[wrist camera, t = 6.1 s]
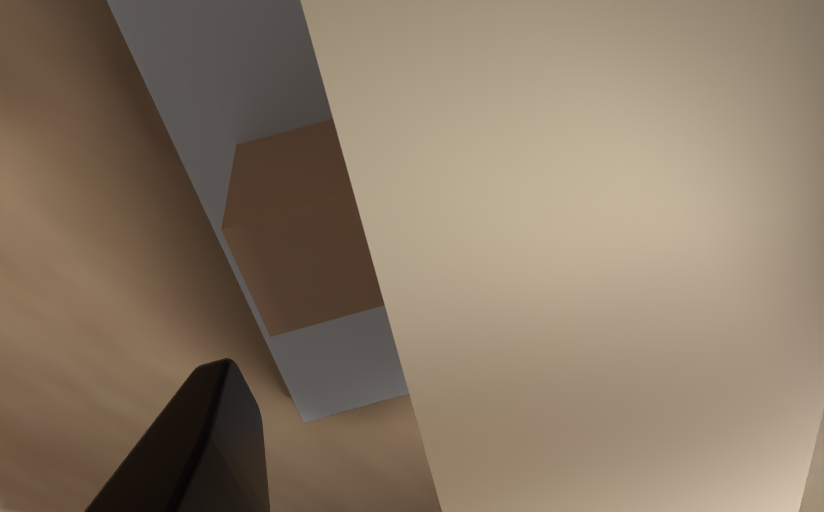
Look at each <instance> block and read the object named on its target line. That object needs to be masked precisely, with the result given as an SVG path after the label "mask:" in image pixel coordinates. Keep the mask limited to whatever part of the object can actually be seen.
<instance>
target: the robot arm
mask: <svg viewBox="0 0 824 512" xmlns="http://www.w3.org/2000/svg"><path fill="white" fill-rule="evenodd" d="M84 512H270V504H269V493H268V481H267V470H266V459H265V448H264V437H263V425H262V418H261V414H260V410H259V407H258V405H257V402H256V400H255V398H254V396H253V395H252V393H251V391H250V389H249V387H248V385H247V383H246V381H245V379H244V377H243V375H242V373H241V371H240V369H239V367H238V366H237V364H236V363H235V362H234V361H233V360H231V359H228V358H225V359H221V360H218V361H214V362H210V363H207V364H203V365H200V366H198V367H197V368H196V369H195V370H194V371H193V372H192V373H191V374H190V376H189V377H188V378H187V380H186V381H185V382H184V383H183V385H182V386H181V387H180V389H179V390H178V391H177V392H176V394H175V395H174V396H173V398H172V399H171V400H170V401H169V403H168V404H167V405H166V407H165V408H164V409H163V410H162V412H161V413H160V414H159V416H158V417H157V418H156V420H155V421H154V422H153V423H152V425H151V426H150V427H149V429H148V430H147V431H146V432H145V434H144V435H143V436H142V438H141V439H140V440H139V441H138V443H137V444H136V445H135V447H134V448H133V449H132V451H131V452H130V453H129V454H128V456H127V457H126V458H125V460H124V461H123V462H122V463H121V465H120V466H119V467H118V469H117V470H116V471H115V472H114V474H113V475H112V476H111V478H110V479H109V480H108V482H107V483H106V484H105V485H104V487H103V488H102V489H101V491H100V492H99V493H98V494H97V496H96V497H95V498H94V500H93V501H92V502H91V503H90V505H89V506H88V507H87V509H86V510H85V511H84Z"/></svg>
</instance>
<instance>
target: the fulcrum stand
mask: <svg viewBox="0 0 824 512" xmlns="http://www.w3.org/2000/svg"><path fill="white" fill-rule="evenodd" d="M107 3H108V5H109V7H110V9H111V11H112V13H113V15H114V18H115V20H116V22H117V24H118V26H119V28H120V30H121V33H122V35H123V37H124V39H125V41H126V43H127V45H128V48H129V50H130V52H131V54H132V56H133V58H134V60H135V63H136V65H137V67H138V69H139V71H140V73H141V75H142V78H143V80H144V82H145V84H146V86H147V88H148V90H149V93H150V95H151V97H152V99H153V101H154V103H155V105H156V108H157V110H158V112H159V114H160V116H161V118H162V120H163V123H164V125H165V127H166V129H167V131H168V133H169V135H170V138H171V140H172V142H173V144H174V146H175V148H176V150H177V153H178V155H179V157H180V159H181V161H182V163H183V165H184V168H185V170H186V172H187V174H188V176H189V178H190V180H191V183H192V185H193V187H194V189H195V191H196V193H197V195H198V198H199V200H200V202H201V204H202V206H203V208H204V210H205V213H206V215H207V217H208V219H209V221H210V223H211V225H212V228H213V230H214V232H215V234H216V236H217V238H218V240H219V243H220V245H221V247H222V249H223V251H224V253H225V255H226V258H227V260H228V262H229V264H230V266H231V268H232V270H233V273H234V275H235V277H236V279H237V281H238V283H239V285H240V288H241V290H242V292H243V294H244V296H245V298H246V300H247V302H248V305H249V307H250V309H251V311H252V313H253V315H254V317H255V320H256V322H257V324H258V326H259V328H260V330H261V332H262V335H263V337H264V339H265V341H266V343H267V345H268V347H269V350H270V352H271V354H272V356H273V358H274V360H275V362H276V365H277V367H278V369H279V371H280V373H281V375H282V377H283V380H284V382H285V384H286V386H287V388H288V390H289V392H290V395H291V397H292V399H293V401H294V403H295V405H296V407H297V410H298V412H299V414H300V416H301V418H302V420H303V422H304V423H306V422H309V421H313V420H316V419H320V418H324V417H327V416H331V415H334V414H338V413H341V412H345V411H349V410H352V409H356V408H359V407H363V406H366V405H370V404H373V403H377V402H381V401H384V400H388V399H391V398H395V397H398V396H402V395H406V394H409V391H408V387H407V384H406V380H405V377H404V373H403V369H402V366H401V362H400V359H399V355H398V351H397V348H396V344H395V340H394V337H393V333H392V330H391V326H390V322H389V319H388V315H387V311H386V308H385V304H384V301H383V297H382V293H381V290H380V286H379V283H378V279H377V275H376V272H375V268H374V264H373V261H372V257H371V254H370V250H369V246H368V243H367V239H366V236H365V232H364V228H363V225H362V221H361V217H360V214H359V210H358V207H357V203H356V199H355V196H354V192H353V189H352V185H351V181H350V178H349V174H348V170H347V167H346V163H345V160H344V156H343V152H342V149H341V145H340V142H339V138H338V134H337V131H336V127H335V123H334V120H333V116H332V113H331V109H330V105H329V102H328V98H327V95H326V91H325V87H324V84H323V80H322V76H321V73H320V69H319V66H318V62H317V58H316V55H315V51H314V48H313V44H312V40H311V37H310V33H309V29H308V26H307V22H306V19H305V15H304V11H303V8H302V4H301V1H300V0H107Z"/></svg>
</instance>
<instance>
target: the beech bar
mask: <svg viewBox="0 0 824 512" xmlns="http://www.w3.org/2000/svg"><path fill="white" fill-rule="evenodd" d="M300 1H301V4H302V8H303V11H304V15H305V19H306V22H307V26H308V29H309V33H310V37H311V40H312V44H313V48H314V51H315V55H316V58H317V62H318V66H319V69H320V73H321V76H322V80H323V84H324V87H325V91H326V95H327V98H328V102H329V105H330V109H331V113H332V116H333V120H334V123H335V127H336V131H337V134H338V138H339V142H340V145H341V149H342V152H343V156H344V160H345V163H346V167H347V170H348V174H349V178H350V181H351V185H352V189H353V192H354V196H355V199H356V203H357V207H358V210H359V214H360V217H361V221H362V225H363V228H364V232H365V236H366V239H367V243H368V246H369V250H370V254H371V257H372V261H373V264H374V268H375V272H376V275H377V279H378V283H379V286H380V290H381V293H382V297H383V301H384V304H385V308H386V311H387V315H388V319H389V322H390V326H391V330H392V333H393V337H394V340H395V344H396V348H397V351H398V355H399V359H400V362H401V366H402V369H403V373H404V377H405V380H406V384H407V387H408V391H409V395H410V398H411V402H412V406H413V409H414V413H415V416H416V420H417V424H418V427H419V431H420V434H421V438H422V442H423V445H424V449H425V453H426V456H427V460H428V463H429V467H430V471H431V474H432V478H433V481H434V485H435V489H436V492H437V496H438V500H439V503H440V507H441V510H442V512H799V508H800V504H801V500H802V496H803V492H804V488H805V484H806V480H807V476H808V472H809V468H810V464H811V460H812V456H813V451H814V447H815V443H816V439H817V435H818V431H819V427H820V423H821V419H822V415H823V411H824V0H300Z"/></svg>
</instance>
